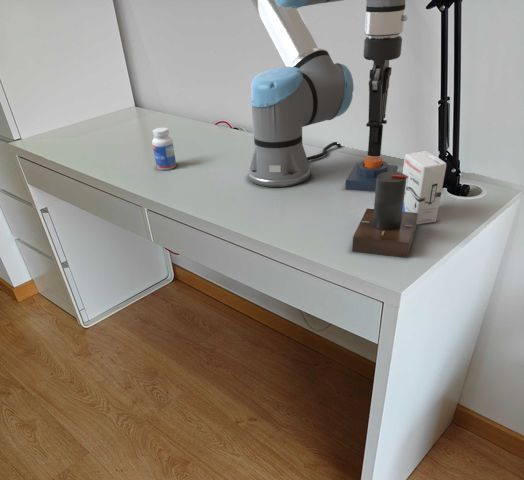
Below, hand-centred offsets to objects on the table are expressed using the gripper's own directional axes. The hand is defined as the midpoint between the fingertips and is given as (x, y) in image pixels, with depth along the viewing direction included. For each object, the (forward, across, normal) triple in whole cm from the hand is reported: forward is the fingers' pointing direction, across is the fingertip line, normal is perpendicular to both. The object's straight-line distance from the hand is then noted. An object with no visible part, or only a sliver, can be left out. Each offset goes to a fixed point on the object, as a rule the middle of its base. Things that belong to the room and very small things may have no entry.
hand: (374, 155), depth 115 cm
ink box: (+7, -17, -12) cm, 22 cm away
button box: (+6, 0, 0) cm, 6 cm away
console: (+6, -29, -8) cm, 31 cm away
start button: (+3, 0, 0) cm, 3 cm away
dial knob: (+3, -29, -8) cm, 30 cm away
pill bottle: (+6, 0, +56) cm, 56 cm away
